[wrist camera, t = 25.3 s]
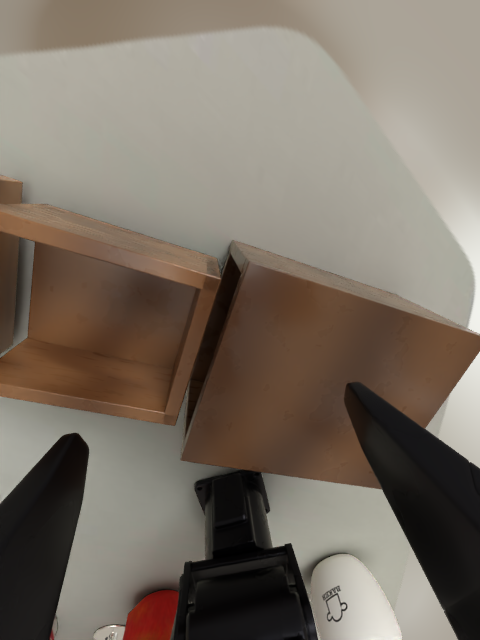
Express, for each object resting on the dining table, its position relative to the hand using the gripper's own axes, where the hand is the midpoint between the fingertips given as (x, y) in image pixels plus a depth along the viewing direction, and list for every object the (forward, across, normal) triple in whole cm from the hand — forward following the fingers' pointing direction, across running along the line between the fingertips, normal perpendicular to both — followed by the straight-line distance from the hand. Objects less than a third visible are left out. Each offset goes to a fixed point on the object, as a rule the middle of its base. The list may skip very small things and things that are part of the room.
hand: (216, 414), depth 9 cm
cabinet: (+11, -6, +7) cm, 14 cm away
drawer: (+11, +8, -1) cm, 14 cm away
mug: (+3, -7, +40) cm, 41 cm away
